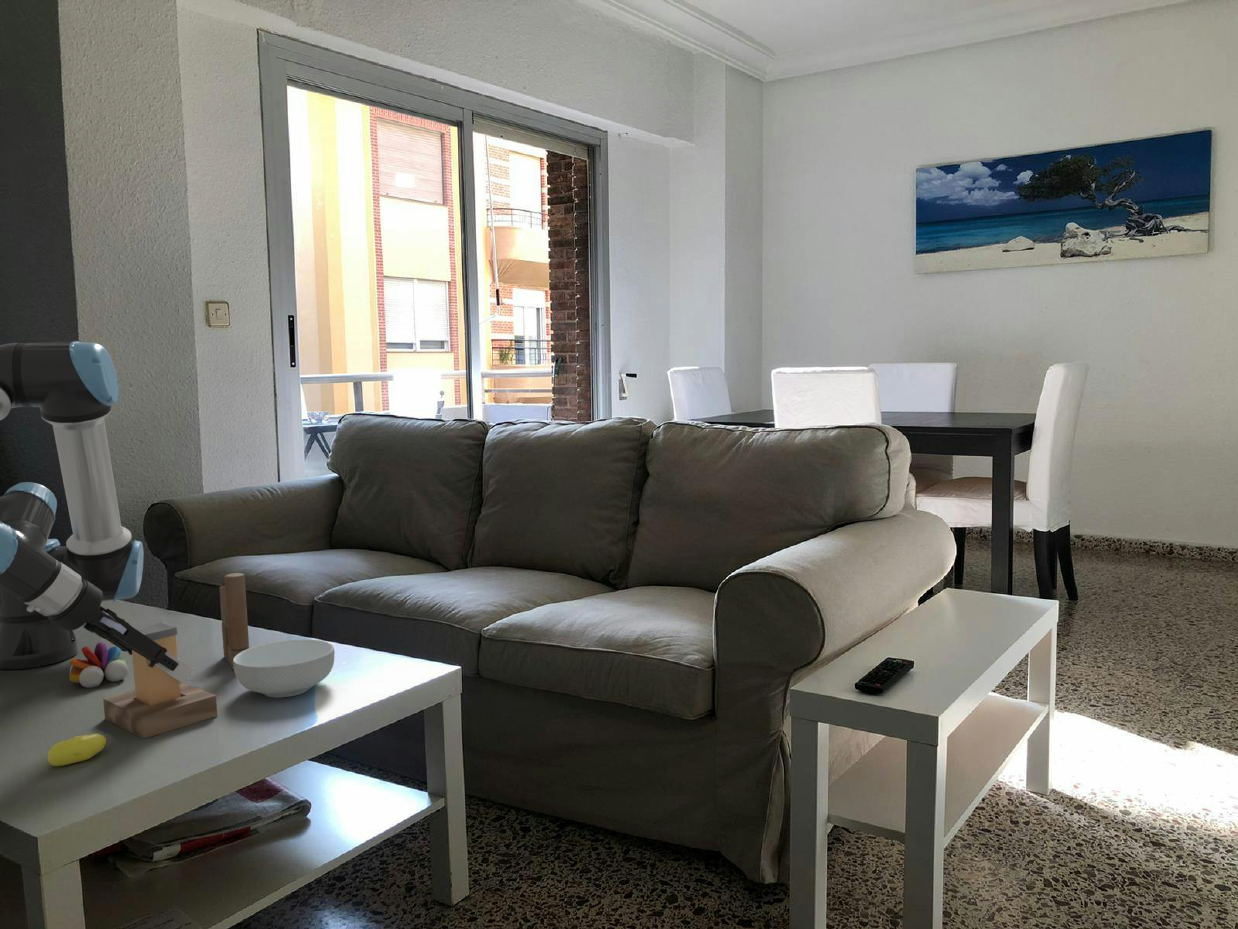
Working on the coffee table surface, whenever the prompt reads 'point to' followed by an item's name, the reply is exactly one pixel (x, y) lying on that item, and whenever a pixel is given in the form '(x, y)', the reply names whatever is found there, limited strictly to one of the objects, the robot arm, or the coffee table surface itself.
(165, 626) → the plug
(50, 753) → the yellow oblong piece
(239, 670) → the cereal bowl
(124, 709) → the header block
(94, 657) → the rainbow petal toy
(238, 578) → the wooden v-shaped piece
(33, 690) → the coffee table surface
